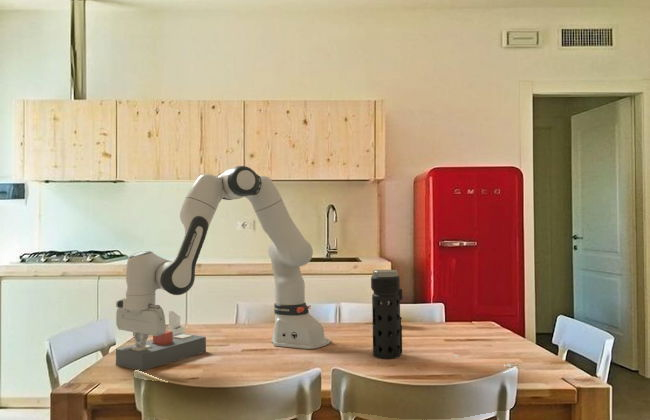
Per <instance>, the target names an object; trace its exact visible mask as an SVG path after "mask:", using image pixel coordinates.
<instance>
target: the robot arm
mask: <svg viewBox="0 0 650 420" xmlns="http://www.w3.org/2000/svg"><path fill="white" fill-rule="evenodd" d="M244 197H245V198H246V199H248V201H249V202H250V203H251V206H252V208H253V211H254V213H255V215H256V216H257V219H258V222H259V224H260V226H261V228H262V229H263V231H264V233H266V234H267V236H268V237H269V239H270V240H271V242H270V243H269V245H268V249H267V253H268V256H269V258H270V261H271V267H272V272H273V278H274V286H275V287H274V292H275V293H274V294H275V296H274V298H275V299H274V301H275V302H274V305H273V310H274V311H273V313H274V326H273V333H272V338H271V340H270V341H271V343H273V344H272V345H273V346H275V347H284V348H295V349H306V350H313V349H318V348H319V349H320V348H322V347H325V346H326V345H327V346H328V345H329V344H330V343H331V342H332V341H331V338H329V337H326V336H325V329H324V326H323V324H321V322H319V320H317V319H316V318H315V317H314V316H313V315H311V314H310V312H309V310H310V309H311V305H308V304H307V303H306V302H305V301H306V298H305V296H306V295H305V293H306V292H305V284H306V283H305V279H304V278H303V275H302V272H301V268H300V267H303V266H305V265H308V264H309V262H311V260H312V259H313V255H314V252H313V247H312V244H311V243H310V242H308V240H307V239H306V238H305V237H304V235H302V234H303V233H302V232H301V231H300V230H299V228H298V227H297V225H296V224H295V222H294V221H293V219H292V217H291V214H289V211H288V208H287V207H286V204H285V202H284V200H283V197H282V196H281V194H280V192H279V190H278V188H277V187H276V185H275V184H274V182H273V180H272V179H271V178H270V177H269V176H265V175H259V174H258V173H256V171H254V169H253V168H251V167H248V166H245V165H237V166H235V167H230V168H228V169H226V170H225V171H224V172H223V171H222V173H220V174H218V175H217V176H215V175H213V174H211V173H210V174H209V173H203V174H201V175H199V176H198V177H197V178H196V180H195V181H194V182H193V184H192V186H191V187H190V188H189V190H188V192H187V194H186V197H185V198H184V200H183V202H182V206H181V209H180V211H179V212H180V213H179V218H180V222H181V223H182V224H183V228H184V237H183V240H182V242H181V245H180V247H179V249H178V253H177V254H176V257H175V259H173V261H172V260H170V259H167V258H163V257H161V256H159V255H157V254H155V253H154V252H153V251H150V250H149V251H139V252H136V253H133V254H130V255H129V257H128V258H127V260H126V262H127V263H126V271H125V282H126V286H127V288H126V292H125V297H123V298H121V299H119V300H116V301H115V307H116V308H117V309H116V313H115V316H116V317H115V324H116V328H117V329H118V330H121V331H124V332H130V333H131V332H132V336H133V339H134V341H135V343H134V344H135V345H136V346H138V347H145V346H146V341H148V338H149V336H152V337H153V336H159V335H163V334H164V333H165V331H167V328H166V327H167V324H166V316H165V312H164V309H163V308H162V307H161V305H159V304H156V291H157V290H160V289H161V290H163V291H165V292H167V293H168V294H170V295H173V296H180V295H184V294H186V293H187V292H189V291H190V290H191V289H192V287H193V286H194V283H195V279H196V277H195V276H196V265H197V262H198V258H199V256H200V255H201V250H202V249H203V246H204V243H205V240H206V236H207V234H208V230H209V228H210V225H211V222H212V220H213V218H214V216H215V214H216V211H217V209H218V206H219V204H220V203H221V201H222V200H224V201H225V200H226V201H230V200H231V201H232V200H239V199H242V198H244Z"/></svg>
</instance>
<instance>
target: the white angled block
mask: <svg viewBox="0 0 650 420" xmlns="http://www.w3.org/2000/svg"><path fill="white" fill-rule="evenodd" d="M185 327H186V326H185V325H181V316H180V315H178V314H177V313H176V312H174V311H173V310H171V311H168V331H172V332H173V335H174V334H178V333H184V334H186V332H185Z"/></svg>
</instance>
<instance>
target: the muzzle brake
mask: <svg viewBox="0 0 650 420" xmlns="http://www.w3.org/2000/svg"><path fill="white" fill-rule="evenodd" d="M398 272H399V271H398V270H396V269H375V270H373V271H372V275H371V278H370V289H371V291H372V292H373V293H372V295H371V299H372V300H371V302H372V303H371V308H372V310H371V311H372V315H371V316H372V356H373V357H374V358H377V359H381V360H392V359H393V360H394V359H396V358H397V359H398V358H400V356H401V355H402V353H403V326H402V319H403V318H402V317H401V301H402V300H403V289H402V288H401V286H400V285H401V284H400V281H401V278H400V275H398V274H399V273H398Z"/></svg>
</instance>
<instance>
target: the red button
mask: <svg viewBox="0 0 650 420" xmlns="http://www.w3.org/2000/svg"><path fill="white" fill-rule="evenodd" d="M152 340H153V344H157V345H165V344H169V343H173V332H172V331H169V330H166V331H165V333H164V334H163V335H159V336H153V335H152Z"/></svg>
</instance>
